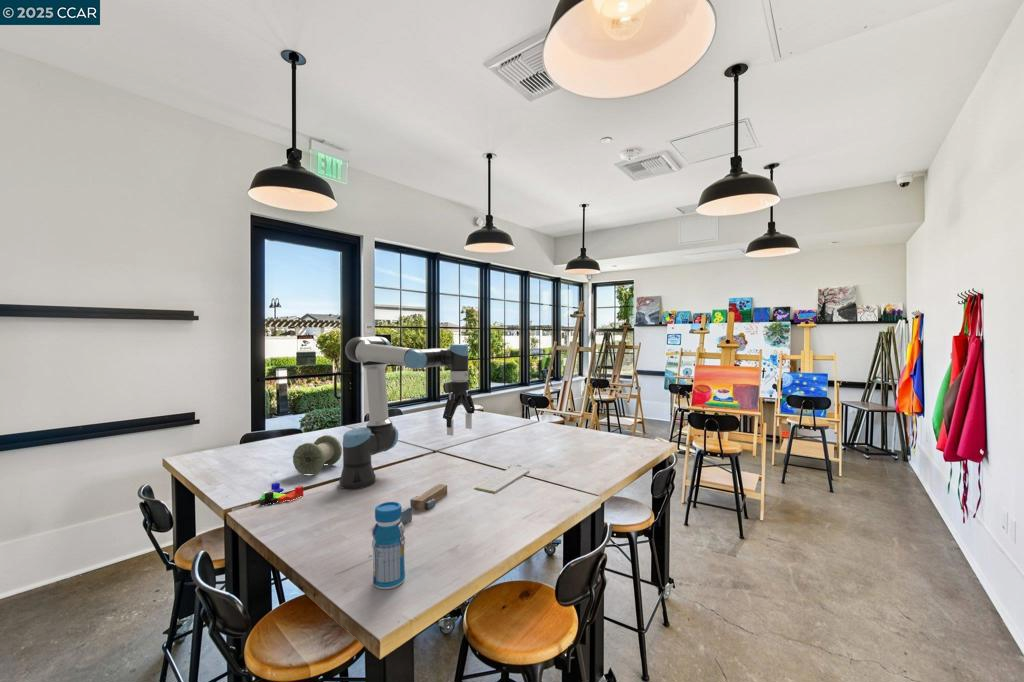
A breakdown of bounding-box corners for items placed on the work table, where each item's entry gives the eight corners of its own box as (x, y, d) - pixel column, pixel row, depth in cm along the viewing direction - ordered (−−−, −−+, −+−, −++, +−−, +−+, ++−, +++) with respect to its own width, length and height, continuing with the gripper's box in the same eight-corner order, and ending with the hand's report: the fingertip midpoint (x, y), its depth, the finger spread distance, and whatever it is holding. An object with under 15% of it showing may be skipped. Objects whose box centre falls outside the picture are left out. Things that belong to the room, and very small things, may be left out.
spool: (314, 464, 215) (313, 434, 215) (341, 465, 213) (341, 435, 213) (293, 475, 199) (292, 443, 199) (322, 476, 197) (322, 444, 197)
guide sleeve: (410, 505, 162) (410, 499, 162) (417, 502, 165) (417, 495, 165) (428, 509, 158) (428, 503, 158) (434, 506, 161) (434, 499, 161)
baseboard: (470, 489, 180) (494, 494, 174) (470, 482, 180) (494, 487, 174) (507, 469, 206) (529, 473, 200) (507, 463, 206) (529, 467, 200)
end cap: (377, 523, 146) (377, 510, 146) (393, 514, 154) (393, 502, 153) (396, 528, 143) (395, 515, 142) (412, 519, 150) (411, 506, 150)
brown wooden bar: (413, 510, 158) (412, 499, 158) (438, 493, 175) (438, 483, 175) (422, 511, 157) (421, 501, 157) (447, 494, 173) (447, 485, 173)
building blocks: (247, 504, 166) (247, 493, 166) (275, 492, 178) (275, 482, 178) (276, 509, 161) (276, 497, 160) (303, 496, 173) (303, 486, 173)
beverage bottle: (383, 595, 106) (382, 515, 106) (366, 582, 112) (365, 506, 112) (412, 580, 112) (411, 505, 112) (394, 568, 118) (393, 497, 118)
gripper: (449, 384, 164) (449, 439, 164) (482, 378, 186) (482, 426, 186) (433, 383, 167) (434, 437, 167) (468, 377, 189) (468, 425, 190)
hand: (459, 431), depth 177 cm, fingers open, 13 cm apart
